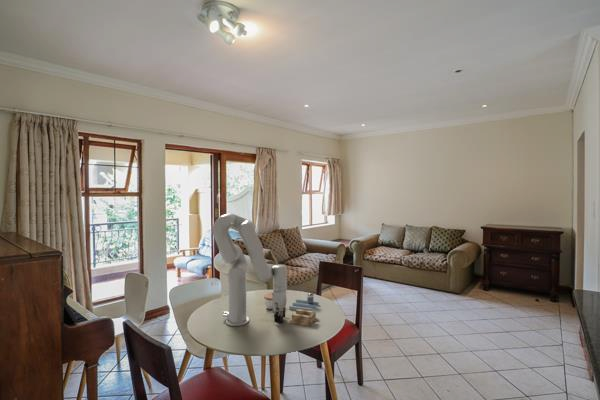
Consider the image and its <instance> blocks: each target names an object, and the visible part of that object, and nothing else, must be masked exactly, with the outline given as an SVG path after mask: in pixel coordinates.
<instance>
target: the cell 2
mask: <svg viewBox="0 0 600 400" xmlns="http://www.w3.org/2000/svg"><path fill="white" fill-rule="evenodd" d="M306 297H307V298H306V299H307V304H310V305H313V301H314V293H311V292H308V293H307V296H306Z"/></svg>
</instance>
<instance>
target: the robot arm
mask: <svg viewBox="0 0 600 400" xmlns="http://www.w3.org/2000/svg"><path fill="white" fill-rule="evenodd" d="M230 230H233V231H236V232H238V234H239V236H240V238H241V240H242V242H243V244H244V246H245V248H246V251H247V253H248V257H249V259H250V261H251V262H250V263H251V264H252V267H253V270H254V271H255V274H256V276H257V278H258V279H259V280H260V281H262V282H269V281H270V280H271V279H272V278H273V279H272V284H273V285H272V286H273V287H272V288H273V289H272V293H273V300H272V309H273V310H272V312H273V317H274V319H273V320H274V323H277V324H281V323H280V310H281V309H282V308H283V319H284V318H286V306H287V291H288V290H287V289H288V288H287V287H288V284H287V282H288V274H287V273H288V267H287V266H286V264H271V263H267V260H266V258H265V253H264V247H263V244H262V242H261V239H260V238H259V236H258V234H257V232H256V225H255V223H254V222H253V221H252V220H250V219H247V218H244V217H242V216H239V215H237V214H234V213H231V212H229V213H225V214H221V215H220V216H219V217H218V218H216V220H215V221H214V223H213V226H212V236H213V238H214V240H215V243H216V246H217V248H218V250H219V253H220V256H221V258H222V260H223V262H224V263H225V264H228V265H230V268H229V270H228V273H227V284H228V311H223V315H222V317H224V318H226V319H225V324H226V325H228V326H231V327H240V326H244V325H246V324H248V323H249V322H250V317H249V316H248V315H247V275H248V274H249V270H250V268H249V265H248V261H247V260H246V257H245V255H244V252H243V249H242V248H241V246H239V245H238V244H236V243H234V241H233V238H232V236H231V234H230V232H229V231H230ZM277 308H279V309H277ZM276 310H277V311H278V312H277V311H276Z"/></svg>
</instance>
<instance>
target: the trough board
mask: <svg viewBox="0 0 600 400" xmlns="http://www.w3.org/2000/svg"><path fill="white" fill-rule="evenodd" d="M319 307H320V302H319V301H315V300H313V305H310V304H307V300H306V299H299V298H296V299H295V301H293V302H292V305H289V306H288V310H290V311H296V310H297V309H300V310H307V311H314V312H317V310H318V309H319Z"/></svg>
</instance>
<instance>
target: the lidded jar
mask: <svg viewBox="0 0 600 400" xmlns="http://www.w3.org/2000/svg"><path fill="white" fill-rule="evenodd" d="M263 297H264V298H263V301H264V305H265V307H266V308H267V309H268V310H270V309H272V300H273V292H268V293H265V294H264V296H263Z"/></svg>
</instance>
